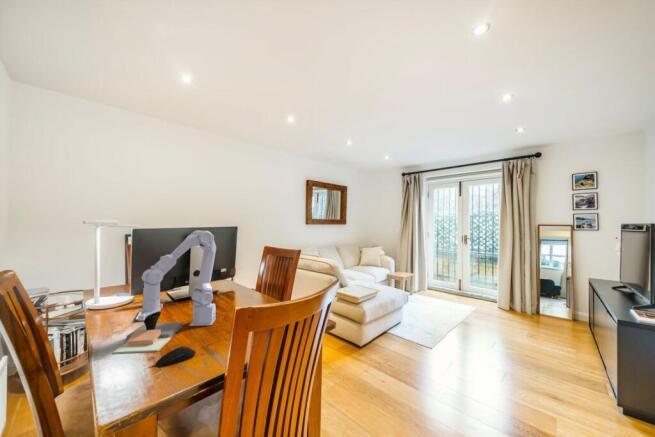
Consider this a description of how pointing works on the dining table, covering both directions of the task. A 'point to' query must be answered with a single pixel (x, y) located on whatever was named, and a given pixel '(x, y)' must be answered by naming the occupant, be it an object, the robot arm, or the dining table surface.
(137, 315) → the smartphone
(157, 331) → the tile
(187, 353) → the gaming mouse
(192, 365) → the dining table surface
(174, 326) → the riser
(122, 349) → the mat
